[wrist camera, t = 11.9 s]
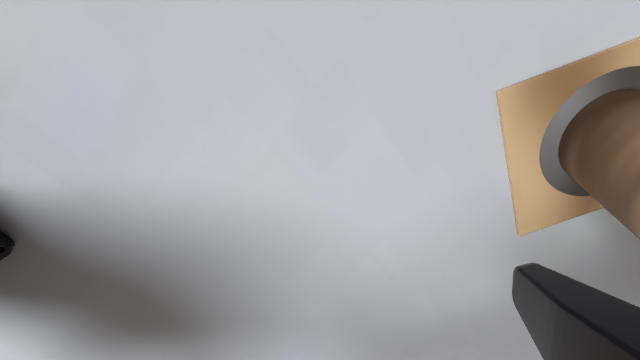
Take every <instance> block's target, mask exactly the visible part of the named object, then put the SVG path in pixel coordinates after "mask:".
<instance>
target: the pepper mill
mask: <svg viewBox="0 0 640 360" xmlns="http://www.w3.org/2000/svg"><path fill="white" fill-rule="evenodd" d="M558 158H559V162H560V165H561V167H562V168H563V170H564V171H565V172H566V173H567V174H568V175H569V176H570V177H571V178H572V179H573V180H574V181H576V182H577V183H578V184H579V185H580V186H581V187H582V188H583V189H584V190H586V191H587V192H588V193H589V194H590V195H591V196H592V197H593V198H594V199H596V200H597V201H598V202H599V203H600V204H601V205H602V206H603V207H604V208H606V209H607V210H608V211H609V212H610V213H611V214H612V215H613V216H614V217H616V218H617V219H618V220H619V221H620V222H621V223H622V224H623V225H624V226H626V227H627V228H628V229H629V230H630V231H631V232H632V233H633V234H634V235H636V236H637V237H638V238H639V239H640V89H634V88H626V89H619V90H615V91H612V92H609V93H606V94H604V95H602V96H600V97H598V98H596V99H594V100H593V101H591V102H590V103H588V104H587V105H586V106H585V107H583V108H582V109H581V110H580V111H579V112H578V113H577V114H576V115H575V116H574V117H573V119H572V120H571V121H570V122H569V124H568V125H567V127H566V129H565V131H564V133H563V134H562V137H561V140H560V143H559V149H558Z"/></svg>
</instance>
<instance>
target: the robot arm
mask: <svg viewBox="0 0 640 360" xmlns="http://www.w3.org/2000/svg"><path fill="white" fill-rule="evenodd" d="M0 245H2V246H3V247H1V246H0V260H1V259H3V258H5V257H6V256H8V255H9V254H10V253H11V252H12V250H13V249H14V247H15V243H14V241H13V240H12V239H11V238H10V237H9V236H7V235H6V234H5V233H3V232H2V231H1V230H0ZM512 297H513V301H514V304H515V307H516V309H517V311H518V312H519V314H520V316H521V318H522V320H523V322H524V324H525V326H526V327H527V329H528V331H529V333H530V335H531V337H532V339H533V340H534V342H535V344H536V346H537V348H538V350H539V352H540V354H541V355H542V357H543V359H544V360H640V308H639V307H637V306H635V305H632V304H630V303H628V302H625V301H623V300H621V299H618V298H616V297H614V296H611V295H609V294H607V293H604V292H602V291H600V290H597V289H595V288H593V287H590V286H588V285H586V284H583V283H581V282H579V281H576V280H574V279H572V278H569V277H567V276H565V275H562V274H560V273H558V272H555V271H553V270H551V269H548V268H546V267H544V266H541V265H539V264H536V263H529V264H525V265H520V266H517V267H515V269H514V272H513V287H512Z"/></svg>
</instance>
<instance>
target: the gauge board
mask: <svg viewBox="0 0 640 360" xmlns="http://www.w3.org/2000/svg"><path fill="white" fill-rule="evenodd" d="M626 88H634V89H640V37H639V38H636V39H634V40H631V41H628V42H626V43H623V44H620V45H618V46H615V47H612V48H610V49H607V50H604V51H602V52H599V53H597V54H594V55H591V56H589V57H586V58H583V59H581V60H578V61H575V62H573V63H570V64H567V65H565V66H562V67H559V68H557V69H554V70H551V71H549V72H546V73H543V74H541V75H538V76H536V77H533V78H530V79H528V80H525V81H522V82H520V83H517V84H514V85H512V86H509V87H506V88H504V89H501V90H498V91H496V94H497V100H498V107H499V114H500V120H501V127H502V133H503V140H504V147H505V153H506V160H507V167H508V173H509V180H510V187H511V193H512V200H513V207H514V213H515V220H516V226H517V233H518V235H519V236H522V235H525V234H528V233H531V232H534V231H537V230H540V229H543V228H546V227H549V226H551V225H554V224H557V223H560V222H563V221H566V220H569V219H572V218H575V217H578V216H581V215H583V214H586V213H589V212H592V211H595V210H598V209H601V208H604V207H603V206H602V205H601V204H600V203H599V202H598V201H597V200H596V199H594V198H593V197H592V196H591V195H590V194H589V193H588V192H587V191H586V190H584V189H583V188H582V187H581V186H580V185H579V184H578V183H577V182H576V181H574V180H573V179H572V178H571V177H570V176H569V175H568V174H567V173H566V172H565V171H564V170H563V168H562V167H561V165H560V162H559V158H558V149H559V143H560V140H561V137H562V134H563V133H564V131H565V129H566V127H567V125H568V124H569V122H570V121H571V120H572V119H573V117H574V116H575V115H576V114H577V113H578V112H579V111H580V110H581V109H582V108H583V107H585V106H586V105H587V104H588V103H590V102H591V101H593V100H594V99H596V98H598V97H600V96H602V95H604V94H606V93H609V92H612V91H615V90H619V89H626Z"/></svg>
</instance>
